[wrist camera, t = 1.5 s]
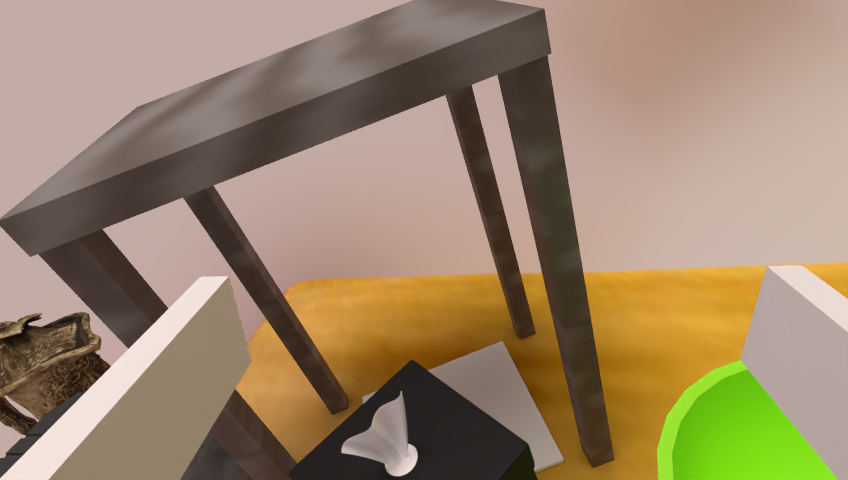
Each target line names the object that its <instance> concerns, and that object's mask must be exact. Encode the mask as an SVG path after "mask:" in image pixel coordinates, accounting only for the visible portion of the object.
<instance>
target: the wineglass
mask: <svg viewBox="0 0 848 480" xmlns="http://www.w3.org/2000/svg"><path fill="white" fill-rule="evenodd" d="M657 464H658V480H838V479H837V478H836V477H835V475H834V474H833V473H832V472H831V470H830V469H829V468H828V467H827V465H826V464H825V463H824V462H823V461H822V459H821V458H820V457H819V456H818V454H817V453H816V452H815V451H814V450H813V448H812V447H811V446H810V445H809V443H808V442H807V441H806V440H805V439H804V437H803V436H802V435H801V434H800V432H799V431H798V430H797V429H796V428H795V426H794V425H793V424H792V423H791V421H790V420H789V419H788V418H787V416H786V415H785V414H784V413H783V412H782V410H781V409H780V408H779V407H778V405H777V404H776V403H775V402H774V401H773V399H772V398H771V397H770V396H769V394H768V393H767V392H766V391H765V390H764V388H763V387H762V386H761V385H760V383H759V382H758V381H757V380H756V379H755V377H754V376H753V375H752V374H751V372H750V371H749V370H748V369H747V367H746V366H745V365H744V364H743V363H742V361H741V360H738V361H736V362H733V363H730V364H727V365H725V366H722V367H719V368H717V369H714V370H712V371H711V372H710V373H708V374H707V375H705V376H704V377H703V378H701V379H700V380H698V381H697V382H696V383H694V384H693V385H691V386H690V387H689V388H687V389H686V390H685V391H684V393H683V394H682V396H681V397H680V398H679V400H678V401H677V403H676V404H675V405H674V407H673V408H672V409H671V411H670V412H669V414H668V415H667V416H666V420H665V423H664V427H663V430H662V434H661V438H660V441H659V445H658V448H657Z"/></svg>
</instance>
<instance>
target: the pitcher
mask: <svg viewBox="0 0 848 480" xmlns="http://www.w3.org/2000/svg"><path fill="white" fill-rule="evenodd" d="M41 314H42V313H37V314H32V315H27V316H25V317H24V318H20V319H19V320H18V321H17V322H10V321H8V322H7V321H6V322H1V323H0V421H1V422H2V423H3V424H4V425H6V426H9V427H12V428H13V429H15V430H16V431H17V432H19V433H20V434H24V435H26V433H27V432H28V431H29V430H30V429H31V428H32V427H33V426H35V425H36V424H37V423H38V422H37V421H36V420H35V419H34V418H30V417H27V416H25V415H23V414H22V413H20V412H19V411H18V410H17V409H16V408H15V407H14V406H12V405H11V404H10V403H9V402H8V401H7V399H6V398H5V397H4V396H5V395H7V396H8V397H9V398H11V399H12V400H13V401H15V402H16V403H18V404H20V405H21V406H23V407H24V408H26V409H27V410H28V411H30V412H31V413H32V414H33V415H34V416H35V417H36V418H37V419H38V420H39V421H40V420H41V419H42V418H43V417H44V416H45V415H46V414H47V413H48V412H49V411H51V410H52V409H54V408H55V407H57V406H58V405H60V404H61V403H63V402H64V401H66V400H67V399H69V398H70V397H72V396H74V395H75V394H77V393H78V392H86V391H87V390H88V389H89V388H90V387H91V386H92V385H93V384H94V383H95V382H96V381H97V380H98V379H99V378H100V377H101V376H102V375H103V374H104V373H105V372H106V371H107V370H108V369H109V368H110V367H111V366H110V365H109V364H108V363H107V362H105V361H104V360H103V359H101V358H100V355H97V354H96V353H95V351H97V350H100V346H101V338H100V336H97V335H95V334H93V333H92V331H91V329H90V317H89V314H87V313H85V312H80V313H74V314H71V315H67V316H64V317H62V318H60V319H58V320H56V321H54V322H52V323H49V324H47V325H45V326H42V327H38V326H29V325H28V323H30V322H33V321H36V320H39V319H41V317H39V316H40V315H41ZM180 480H253V478H252V477H251V476H250V475H249V474H248V473H247V472H246V471H245V470H244V469H243V468H242V467H241V466H240V465H239V464H238V463H237V462H236V461H235V460H234V459H233V458H232V457H231V455H230V454H229V453H228V452H227V451H226V450H225V449H224V448H223V447H222V446H221V445H220V444H219V443H218V442H217V441H216V440H215V439H214V438H213V437H212V436H211V435H210V433H208V434H207V436H206V438H205V439H204V441H203V443H202V444H201V446H200V448H199V449H198V451H197V453H196V454H195V456H194V458H193V459H192V461H191V463H190V464H189V466H188V468H187V469H186V471H185V472H184V474H183V476H182V477H181V479H180Z"/></svg>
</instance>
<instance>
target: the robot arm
mask: <svg viewBox="0 0 848 480" xmlns="http://www.w3.org/2000/svg"><path fill="white" fill-rule="evenodd" d="M740 360H741V361H742V363H743V364H744V365H745V366H746V367H747V369H748V370H749V371H750V372H751V374H752V375H753V376H754V377H755V379H756V380H757V381H758V382H759V383H760V385H761V386H762V387H763V388H764V390H765V391H766V392H767V393H768V394H769V396H770V397H771V398H772V399H773V401H774V402H775V403H776V404H777V405H778V407H779V408H780V409H781V410H782V412H783V413H784V414H785V415H786V416H787V418H788V419H789V420H790V421H791V423H792V424H793V425H794V426H795V428H796V429H797V430H798V431H799V432H800V434H801V435H802V436H803V437H804V439H805V440H806V441H807V442H808V443H809V445H810V446H811V447H812V448H813V450H814V451H815V452H816V453H817V454H818V456H819V457H820V458H821V459H822V461H823V462H824V463H825V464H826V465H827V467H828V468H829V469H830V470H831V472H832V473H833V474H834V475H835V477H836V478H837V479H838V480H848V299H847V298H846V297H844V296H843V295H841V294H840V293H839V292H837V291H836V290H835V289H833V288H832V287H830V286H829V285H828V284H826V283H825V282H824V281H822V280H821V279H819V278H818V277H817V276H815V275H814V274H813V273H811V272H810V271H808V270H807V269H806V268H804V267H803V266H767V268H766V271H765V275H764V278H763V282H762V285H761V289H760V292H759V296H758V299H757V303H756V306H755V310H754V313H753V317H752V320H751V324H750V327H749V331H748V334H747V338H746V341H745V345H744V348H743V352H742V355H741V359H740ZM251 361H252V360H251V357H250V353H249V349H248V346H247V342H246V338H245V335H244V331H243V327H242V323H241V320H240V316H239V312H238V309H237V305H236V302H235V298H234V294H233V290H232V287H231V283H230V279H229V276H216V277H200V278H199V279H198V280H197V281H196V282H195V283H194V284H193V285H192V286H191V287H190V288H189V289H188V290H187V291H186V292H185V293H184V294H183V295H182V296H181V297H180V298H179V299H178V300H177V301H176V302H175V303H174V304H173V305H172V306H171V307H170V308H169V309H168V310H167V311H166V312H165V313H164V314H163V315H162V316H161V317H160V318H159V319H158V320H157V321H156V322H155V323H154V324H153V325H152V326H151V327H150V328H149V329H148V330H147V331H146V332H145V333H144V334H143V335H142V336H141V337H140V338H139V339H138V340H137V341H136V342H135V343H134V344H133V345H132V346H131V347H130V348H129V349H128V350H127V351H126V352H125V353H124V354H123V355H122V356H121V357H120V358H119V359H118V360H117V361H116V362H115V363H114V364H113V365H112V366H111V367H110V368H109V369H108V370H107V371H106V372H105V373H104V374H103V375H102V376H101V377H100V378H99V379H98V380H97V381H96V382H95V383H94V384H93V385H92V386H91V387H90V388H89V389H88V390H87V391H86V392H78V393H77V394H75V395H74V396H72V397H70V398H69V399H67V400H66V401H64V402H63V403H61V404H60V405H58V406H57V407H55V408H54V409H52V410H51V411H49V412H48V413H47V414H46V415H45V416H44V417H43V418H42V419H41V420H40V421H39V422H38V423H37V424H36V425H35V426H33V427H32V428H31V429H30V430H29V431H28V432H27V433H26V437H25V438H23V439H22V438H21V439H20V440H19V441H18V442H17V443H16V444H15V445H14V446H13V447H12V448H11V449H10V450H9V451H8V452H7V453H6V456H5V458H1V459H0V480H180V479H181V477H182V476H183V474H184V472H185V471H186V469H187V468H188V466H189V464H190V463H191V461H192V459H193V458H194V456H195V454H196V453H197V451H198V449H199V448H200V446H201V444H202V443H203V441H204V439H205V438H206V436H207V434H208V433H209V431H210V429H211V428H212V426H213V424H214V423H215V421H216V419H217V418H218V416H219V414H220V413H221V411H222V409H223V408H224V406H225V404H226V403H227V401H228V399H229V398H230V396H231V394H232V393H233V391H234V390H235V388H236V386H237V385H238V383H239V381H240V380H241V378H242V376H243V375H244V373H245V371H246V370H247V368H248V366H249V365H250V363H251Z"/></svg>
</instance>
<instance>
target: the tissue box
mask: <svg viewBox="0 0 848 480" xmlns="http://www.w3.org/2000/svg"><path fill="white" fill-rule="evenodd" d="M534 463H535V462H534V459H533V456H532V453H531V450H530V447H529V444H528V443H527V442H526V441H524V440H523V439H521V438H520V437H519V436H517V435H516V434H515V433H513V432H512V431H510V430H509V429H508V428H506V427H505V426H504V425H502V424H501V423H499V422H498V421H497V420H495V419H494V418H492V417H491V416H490V415H488V414H487V413H486V412H484V411H483V410H481V409H480V408H479V407H477V406H476V405H474V404H473V403H472V402H470V401H469V400H468V399H466V398H465V397H463V396H462V395H461V394H459V393H458V392H456V391H455V390H454V389H452V388H451V387H450V386H448V385H447V384H445V383H444V382H443V381H441V380H440V379H439V378H437V377H436V376H434V375H433V374H432V373H430V372H429V371H427V370H426V369H425V368H423V367H422V366H421V365H419V364H418V363H416V362H415V361H414V360H412V361H410V362H409V363H407V364H406V365H405V366H404V367H403V368H402V369H401V370H400V371H399V372H398V373H397V374H395V375H394V376H393V377H392V378H391V379H390V380H389V381H388V382H387V383H386V384H384V385H383V386H382V387H381V388H380V389H379V390H378V391H377V392H376V393H375V394H374V395H372V396H371V397H370V398H369V399H368V400H367V401H366V402H365V403H364V404H363V405H361V406H360V407H359V408H358V409H357V410H356V411H355V412H354V413H353V414H352V415H351V416H349V417H348V418H347V419H346V420H345V421H344V422H343V423H342V424H341V425H340V426H338V427H337V428H336V429H335V430H334V431H333V432H332V433H331V434H330V435H329V436H328V437H326V438H325V439H324V440H323V441H322V442H321V443H320V444H319V445H318V446H317V447H315V448H314V449H313V450H312V451H311V452H310V453H309V454H308V455H307V456H306V457H305V458H303V459H302V460H301V461H300V462H299V463H298V464H297V465H296V466H295V467H294V468H292V469H291V470H290V471H289V476H290V478H291V479H292V480H538V479H537V477H536V474H535V471H534V467H535V464H534Z"/></svg>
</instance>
